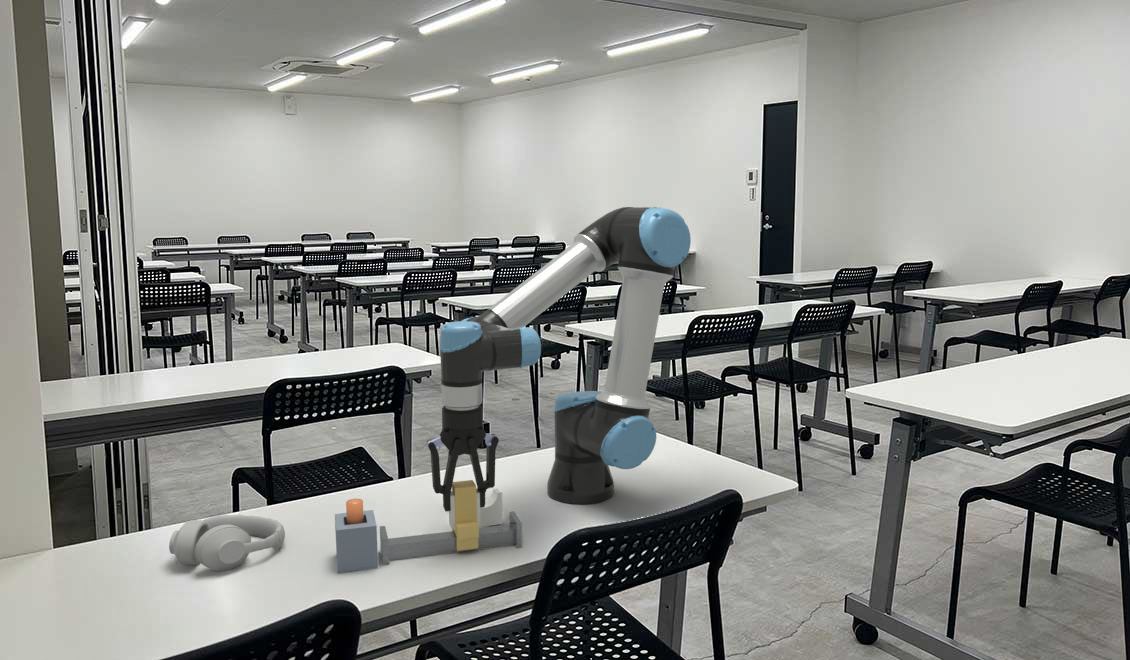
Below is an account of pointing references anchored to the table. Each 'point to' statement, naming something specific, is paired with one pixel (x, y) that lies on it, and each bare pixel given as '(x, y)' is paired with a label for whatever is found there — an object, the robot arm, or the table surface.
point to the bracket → (492, 510)
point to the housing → (356, 543)
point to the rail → (448, 541)
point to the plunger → (354, 511)
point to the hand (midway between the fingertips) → (464, 524)
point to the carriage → (465, 515)
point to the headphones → (224, 540)
